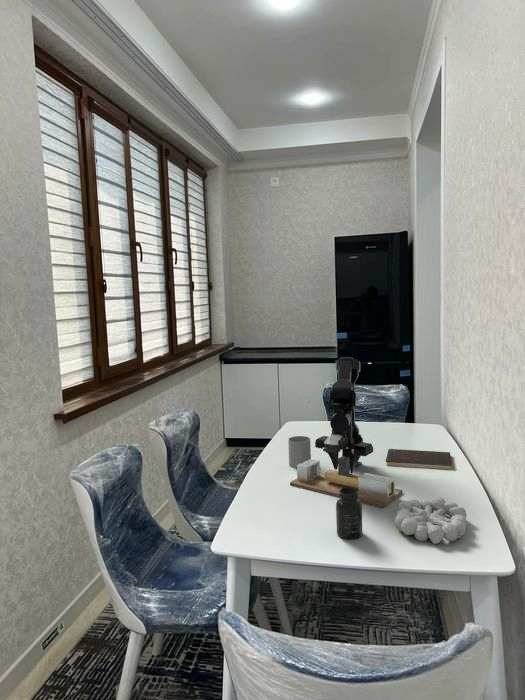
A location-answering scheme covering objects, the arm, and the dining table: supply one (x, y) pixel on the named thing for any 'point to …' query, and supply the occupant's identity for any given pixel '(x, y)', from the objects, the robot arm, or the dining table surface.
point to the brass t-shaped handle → (344, 474)
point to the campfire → (431, 519)
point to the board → (334, 488)
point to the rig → (366, 482)
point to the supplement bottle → (349, 514)
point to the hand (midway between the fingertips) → (344, 471)
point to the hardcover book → (419, 459)
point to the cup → (299, 450)
